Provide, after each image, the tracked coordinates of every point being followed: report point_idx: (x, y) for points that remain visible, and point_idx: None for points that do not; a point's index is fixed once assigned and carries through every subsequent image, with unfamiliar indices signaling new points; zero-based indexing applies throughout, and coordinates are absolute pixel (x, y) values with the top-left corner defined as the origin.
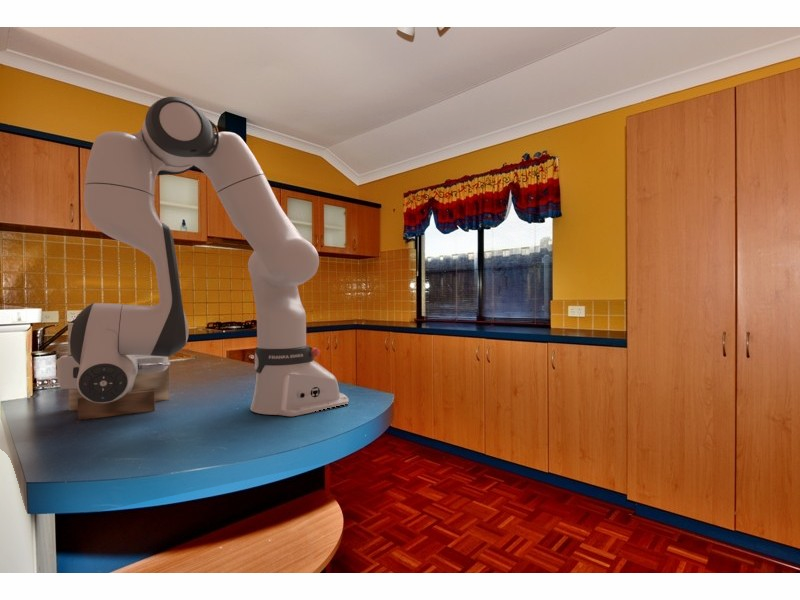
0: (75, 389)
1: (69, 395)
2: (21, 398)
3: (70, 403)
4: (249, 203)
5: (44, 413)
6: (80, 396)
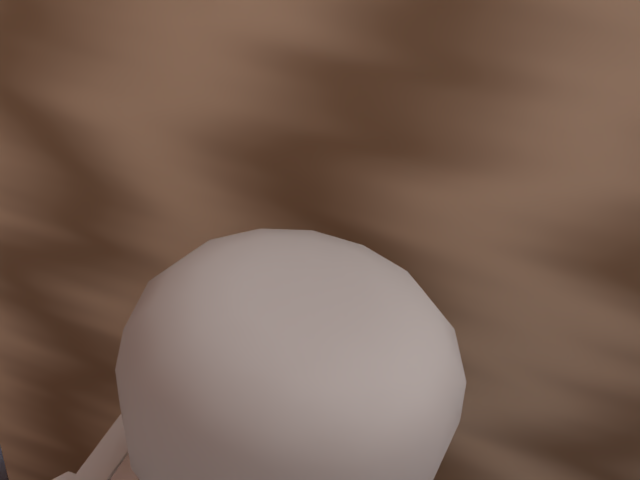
0: (26, 427)
1: (1, 440)
2: None
3: (14, 477)
4: None
5: None
6: (59, 471)
